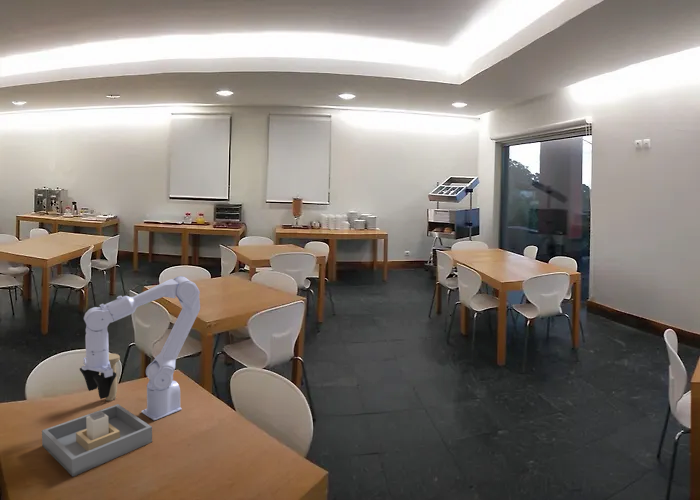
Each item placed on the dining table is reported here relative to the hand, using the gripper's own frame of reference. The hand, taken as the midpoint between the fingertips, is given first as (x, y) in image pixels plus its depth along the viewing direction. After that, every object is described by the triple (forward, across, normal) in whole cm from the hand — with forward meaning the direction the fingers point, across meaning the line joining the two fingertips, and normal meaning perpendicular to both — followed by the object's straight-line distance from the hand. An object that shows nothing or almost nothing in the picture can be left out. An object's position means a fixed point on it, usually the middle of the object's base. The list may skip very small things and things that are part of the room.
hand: (98, 393), depth 124 cm
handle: (+11, -15, +10) cm, 21 cm away
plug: (+9, +9, -4) cm, 14 cm away
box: (+10, +9, -4) cm, 14 cm away
